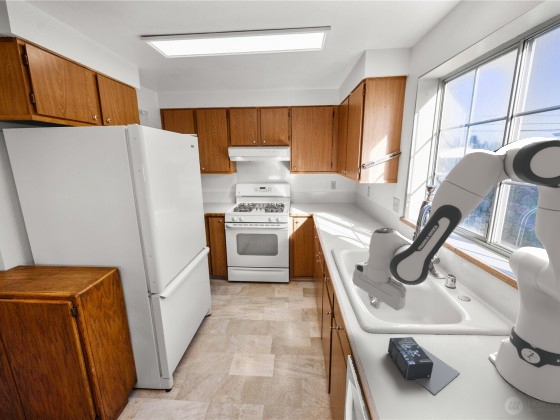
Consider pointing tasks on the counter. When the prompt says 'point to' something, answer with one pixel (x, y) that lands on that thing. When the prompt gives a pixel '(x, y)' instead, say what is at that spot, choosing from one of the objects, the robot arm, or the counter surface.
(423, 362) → the box
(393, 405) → the counter surface
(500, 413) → the counter surface
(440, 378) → the mat
